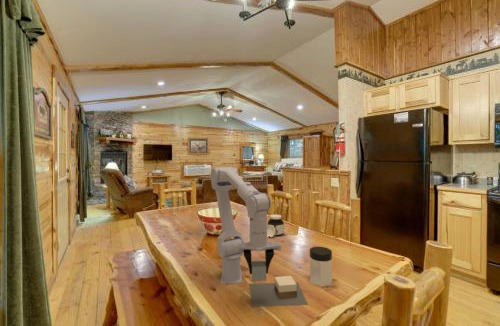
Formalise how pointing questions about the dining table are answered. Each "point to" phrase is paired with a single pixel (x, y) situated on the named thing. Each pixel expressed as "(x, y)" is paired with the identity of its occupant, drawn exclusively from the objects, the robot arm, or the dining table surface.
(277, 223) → the spread jar
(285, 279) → the cream slab
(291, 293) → the walnut slab
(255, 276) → the gray cube
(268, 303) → the felt mat
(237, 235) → the robot arm
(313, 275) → the jar
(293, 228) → the dining table surface
